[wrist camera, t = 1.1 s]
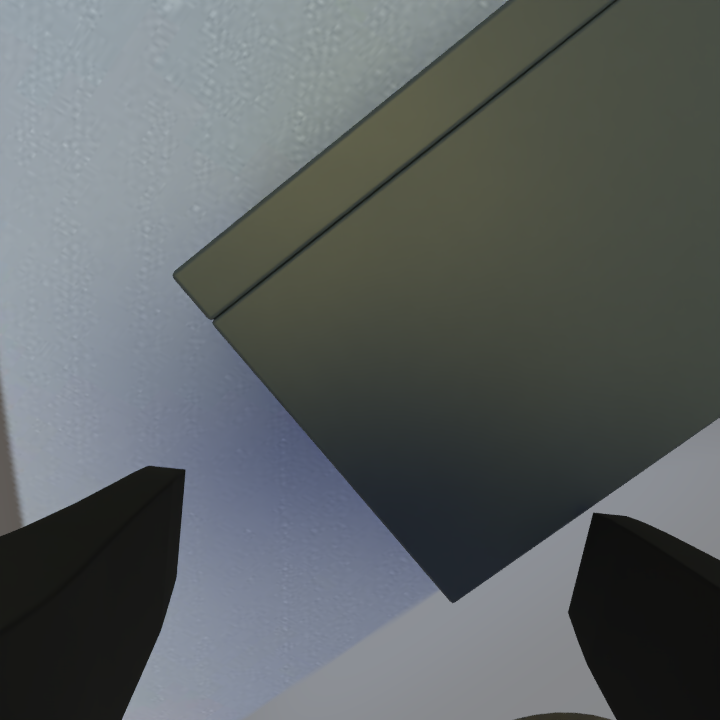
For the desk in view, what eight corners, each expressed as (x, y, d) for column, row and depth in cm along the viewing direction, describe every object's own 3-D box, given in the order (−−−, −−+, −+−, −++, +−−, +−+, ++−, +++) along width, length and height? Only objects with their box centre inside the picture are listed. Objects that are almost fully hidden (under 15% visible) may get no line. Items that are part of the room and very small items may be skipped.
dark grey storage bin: (688, 206, 21) (1015, 212, 11) (393, 425, 22) (452, 605, 12) (556, -16, 19) (808, -244, 9) (242, 237, 20) (168, 274, 10)
